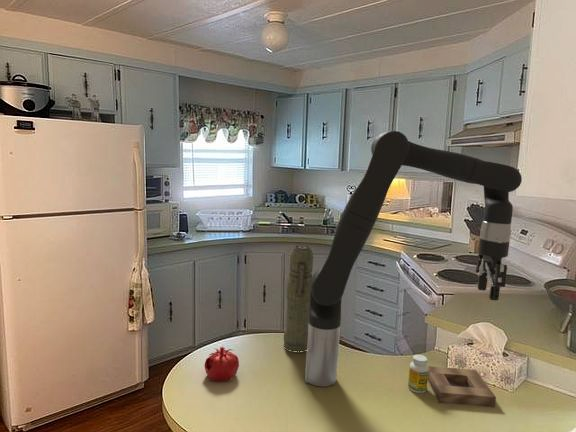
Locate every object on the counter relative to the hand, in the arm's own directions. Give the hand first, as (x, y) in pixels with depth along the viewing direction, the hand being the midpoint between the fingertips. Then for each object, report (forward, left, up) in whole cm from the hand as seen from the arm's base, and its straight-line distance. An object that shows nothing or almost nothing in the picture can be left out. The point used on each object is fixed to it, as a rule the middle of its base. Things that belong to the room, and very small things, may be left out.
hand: (487, 294), depth 122 cm
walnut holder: (-5, 0, -29) cm, 30 cm away
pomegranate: (-74, -3, -30) cm, 80 cm away
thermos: (-53, +20, -30) cm, 64 cm away
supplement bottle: (-17, -1, -30) cm, 34 cm away
